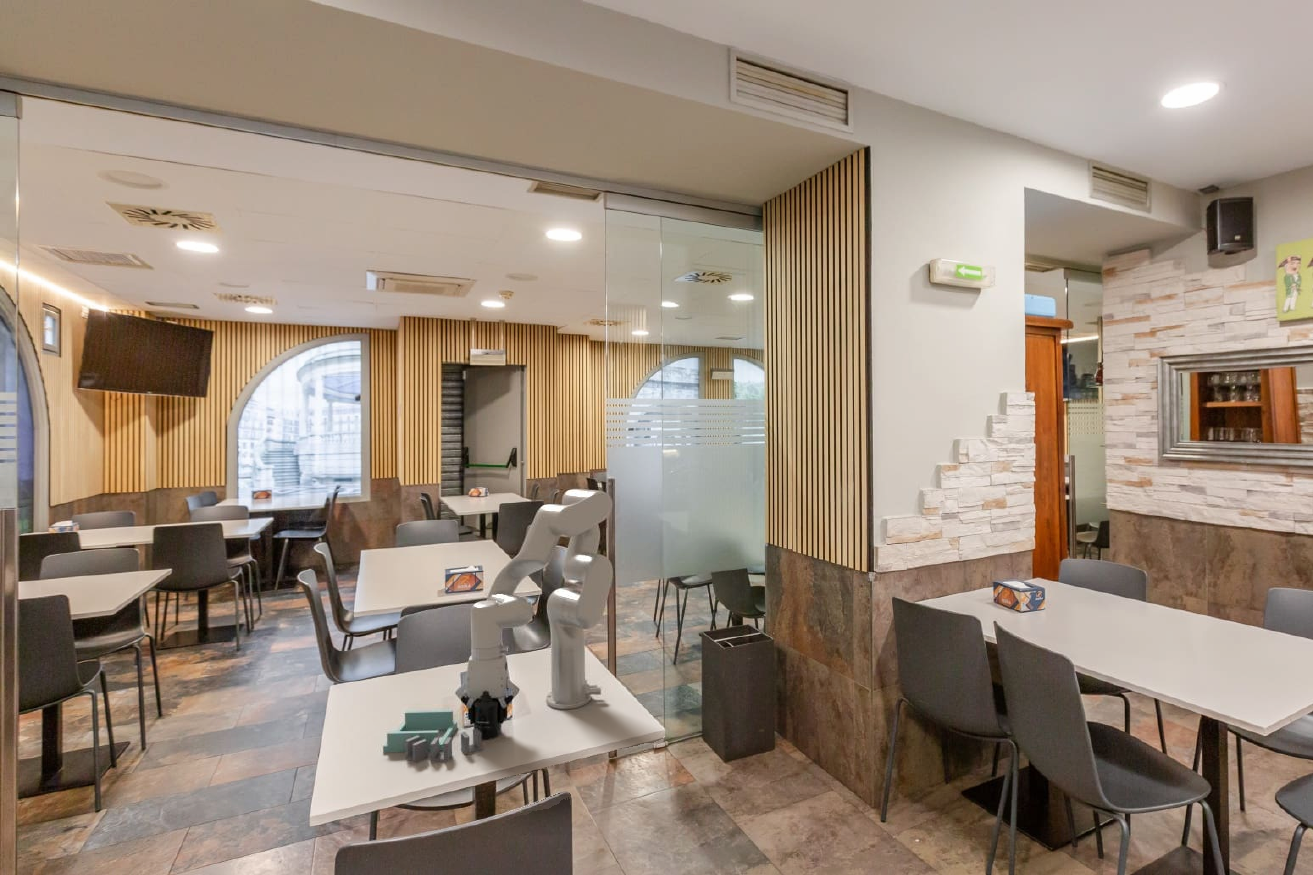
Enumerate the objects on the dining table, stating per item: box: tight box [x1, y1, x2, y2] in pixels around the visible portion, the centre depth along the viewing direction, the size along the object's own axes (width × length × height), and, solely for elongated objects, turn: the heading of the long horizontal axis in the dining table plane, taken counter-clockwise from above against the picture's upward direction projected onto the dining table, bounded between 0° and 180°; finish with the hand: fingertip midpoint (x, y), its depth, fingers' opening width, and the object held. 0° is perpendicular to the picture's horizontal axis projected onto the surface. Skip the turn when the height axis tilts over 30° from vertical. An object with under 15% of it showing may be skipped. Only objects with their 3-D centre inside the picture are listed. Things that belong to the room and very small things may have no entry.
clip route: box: [405, 728, 483, 764], centre depth 146 cm, size 17×8×4 cm, turn 91°
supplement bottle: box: [473, 691, 503, 741], centre depth 156 cm, size 7×7×12 cm
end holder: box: [382, 709, 458, 753], centre depth 154 cm, size 14×12×4 cm
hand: (487, 721), depth 156 cm, fingers closed on supplement bottle, 6 cm apart
